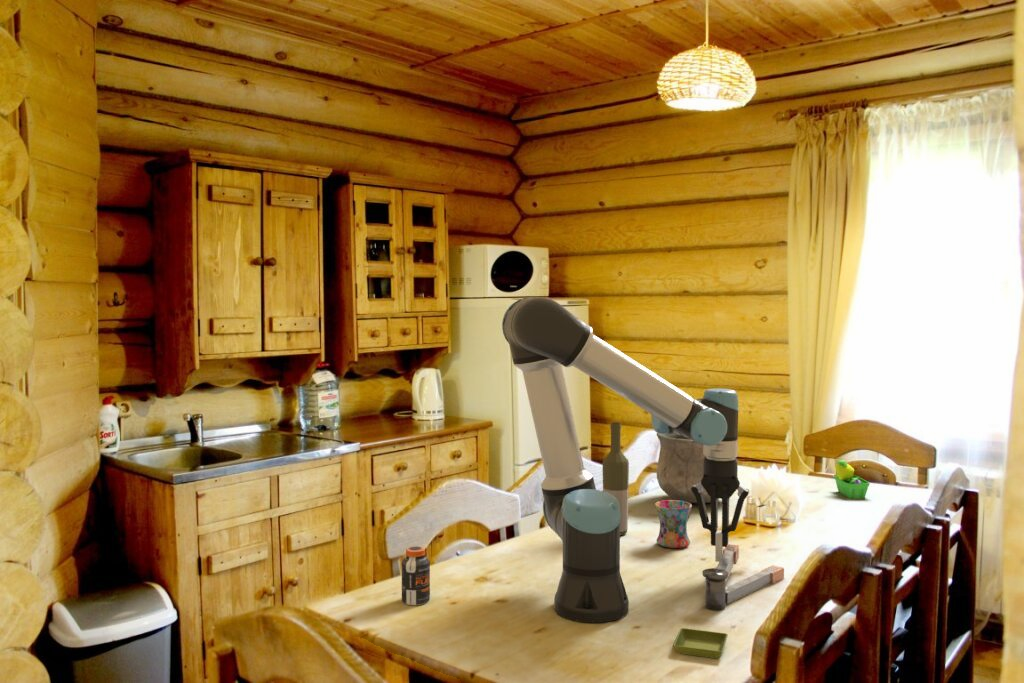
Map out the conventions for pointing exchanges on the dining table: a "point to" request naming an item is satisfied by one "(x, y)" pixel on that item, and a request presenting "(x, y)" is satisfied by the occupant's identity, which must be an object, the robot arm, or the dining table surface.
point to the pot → (680, 467)
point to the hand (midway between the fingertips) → (719, 559)
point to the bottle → (617, 475)
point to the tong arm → (729, 558)
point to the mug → (673, 523)
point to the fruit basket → (849, 481)
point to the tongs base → (735, 585)
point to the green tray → (700, 642)
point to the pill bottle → (415, 576)
